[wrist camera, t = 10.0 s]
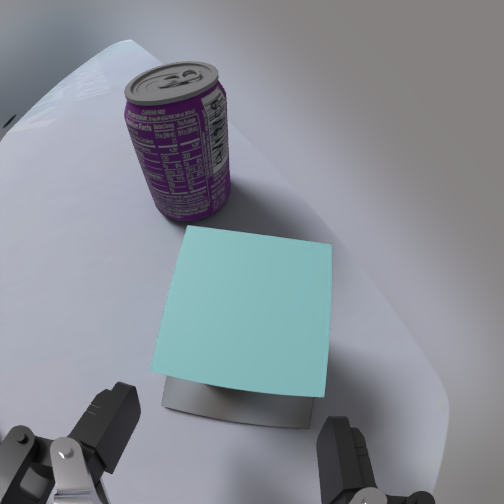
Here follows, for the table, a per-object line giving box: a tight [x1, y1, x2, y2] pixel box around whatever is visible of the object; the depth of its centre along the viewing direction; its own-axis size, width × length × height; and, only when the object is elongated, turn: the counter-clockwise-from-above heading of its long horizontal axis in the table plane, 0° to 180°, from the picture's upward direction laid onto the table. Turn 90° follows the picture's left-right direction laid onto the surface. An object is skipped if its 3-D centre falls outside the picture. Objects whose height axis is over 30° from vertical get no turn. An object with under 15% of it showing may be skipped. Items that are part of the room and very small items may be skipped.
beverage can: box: [124, 61, 230, 221], centre depth 19 cm, size 7×7×12 cm
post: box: [161, 375, 313, 429], centre depth 14 cm, size 10×10×10 cm
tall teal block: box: [150, 225, 332, 397], centre depth 13 cm, size 5×5×11 cm
